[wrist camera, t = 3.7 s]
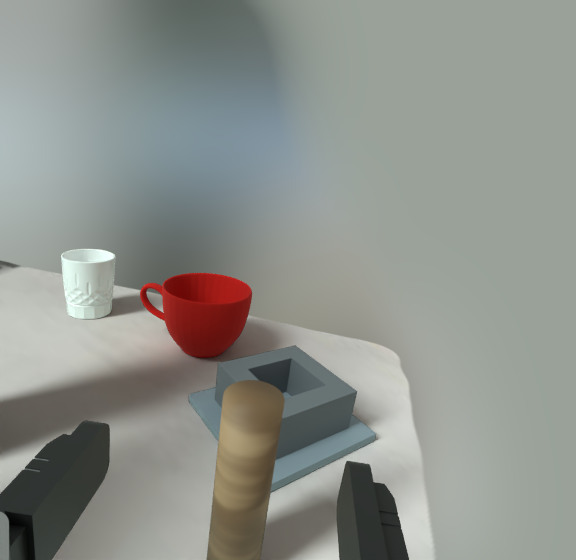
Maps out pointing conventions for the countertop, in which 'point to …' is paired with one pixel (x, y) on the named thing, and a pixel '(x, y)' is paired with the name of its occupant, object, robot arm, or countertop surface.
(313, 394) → the socket block
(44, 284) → the countertop surface
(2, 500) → the robot arm
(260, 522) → the wooden cylinder
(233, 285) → the ceramic cup
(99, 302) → the white cup
